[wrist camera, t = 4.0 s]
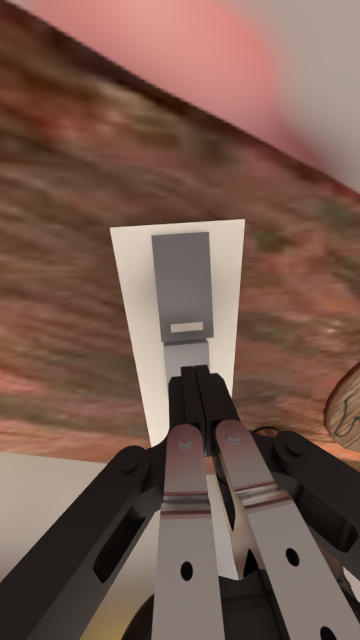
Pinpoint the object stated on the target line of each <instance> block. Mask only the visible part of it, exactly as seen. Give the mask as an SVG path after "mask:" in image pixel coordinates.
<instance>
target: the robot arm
mask: <svg viewBox="0 0 360 640" xmlns="http://www.w3.org/2000/svg"><path fill="white" fill-rule="evenodd" d="M180 369H181V376H175V377H171V379H170V381H169V383H168V395H169V431H168V434H167V436H166V437H165V438H164V440H163V441H162V442H160V443H159V444H157V445H155V446H153V447H151V448H149V449H147V450H145V449H144V448H142V447H140V446H136V445H133V446H128V447H126V448H124V449H122V450H121V451H120V452H118V453H117V454H116V456H115V457H114V458H113V459H112V460H111V461H110V462H109V463H108V464H107V466H106V467H105V468H104V469H103V470H102V471H101V472H100V473H99V474H98V476H97V477H96V478H95V479H94V480H93V481H92V482H91V483H90V484H89V486H88V487H87V488H86V489H85V490H84V491H83V492H82V493H81V494H80V495H79V497H78V498H77V499H76V500H75V501H74V502H73V503H72V504H71V505H70V506H69V507H68V509H67V510H66V511H65V512H64V513H63V514H62V515H61V516H60V517H59V518H58V520H57V521H56V522H55V523H54V524H53V525H52V526H51V527H50V528H49V530H48V531H47V532H46V533H45V534H44V535H43V536H42V537H41V538H40V539H39V541H38V542H37V543H36V544H35V545H34V546H33V547H32V548H31V549H30V550H29V552H28V553H27V554H26V555H25V556H24V557H23V558H22V559H21V560H20V562H19V563H18V564H17V565H16V566H15V567H14V568H13V569H12V570H11V571H10V573H9V574H8V575H7V576H6V577H5V578H4V579H3V580H2V581H1V583H0V640H79V639H80V637H81V636H82V634H83V632H84V631H85V629H86V627H87V625H88V624H89V622H90V620H91V618H92V617H93V615H94V614H95V612H96V610H97V609H98V607H99V605H100V603H101V602H102V600H103V599H104V597H105V595H106V594H107V592H108V590H109V588H110V587H111V585H112V584H113V582H114V580H115V579H116V577H117V575H118V573H119V572H120V570H121V569H122V567H123V565H124V563H125V562H126V560H127V558H128V557H129V555H130V553H131V552H132V550H133V548H134V547H135V545H136V543H137V542H138V540H139V538H140V537H141V535H142V533H143V532H144V530H145V528H146V527H147V525H148V523H149V522H150V520H151V518H152V516H153V515H154V513H155V512H156V511H158V510H160V509H161V512H160V526H159V540H158V554H157V567H156V582H155V593H154V594H153V595H151V596H150V597H149V598H148V599H147V600H146V602H145V603H144V604H143V605H142V606H141V607H140V609H139V610H138V611H137V613H136V614H135V616H134V617H133V619H132V620H131V622H130V624H129V625H128V627H127V629H126V630H125V633H124V635H123V636H122V639H121V640H360V603H359V602H358V601H357V600H356V599H355V598H354V597H353V596H352V595H351V594H350V593H348V592H347V591H346V590H345V589H344V588H342V587H341V586H340V585H338V583H337V581H336V579H335V577H334V576H333V574H332V572H331V570H330V568H329V566H328V564H327V563H326V561H325V559H324V557H323V555H322V553H321V551H320V550H319V548H318V546H317V544H316V542H318V543H319V544H320V545H321V546H322V547H323V548H324V549H325V550H326V551H327V552H328V553H330V554H331V555H332V556H333V557H334V558H335V559H336V560H337V561H338V562H339V563H340V564H342V565H343V566H344V567H345V568H346V569H347V570H348V571H349V572H350V573H351V574H352V575H354V576H355V577H356V578H357V579H358V580H359V581H360V472H358V471H357V470H355V469H354V468H352V467H350V466H349V465H347V464H346V463H344V462H343V461H341V460H339V459H338V458H336V457H335V456H333V455H331V454H330V453H328V452H327V451H325V450H323V449H322V448H320V447H319V446H317V445H315V444H314V443H312V442H311V441H309V440H307V439H306V438H304V437H303V436H301V435H299V434H297V433H295V432H292V431H281V432H279V433H277V434H276V436H275V438H273V437H269V436H264V435H259V434H256V433H254V432H252V431H250V430H249V429H248V428H247V427H246V426H245V425H244V424H242V422H241V421H240V419H239V416H238V414H237V411H236V409H235V406H234V404H233V401H232V399H231V396H230V394H229V391H228V388H227V386H226V383H225V381H224V379H223V378H222V377H221V376H220V375H219V374H218V373H210V372H209V368H208V365H207V364H205V365H194V366H182V367H180ZM205 452H206V457H209V456H212V459H213V464H214V477H215V481H216V485H217V488H218V492H219V496H220V499H221V503H222V507H223V511H224V515H225V518H226V522H227V526H228V529H229V533H230V539H231V546H232V552H233V557H234V562H235V566H236V570H237V574H238V578H239V580H232V579H229V578H225V577H222V576H218V570H217V561H216V552H215V542H214V533H213V524H212V515H211V507H210V501H209V498H208V490H207V480H206V470H205V460H204V457H205ZM315 541H316V542H315Z"/></svg>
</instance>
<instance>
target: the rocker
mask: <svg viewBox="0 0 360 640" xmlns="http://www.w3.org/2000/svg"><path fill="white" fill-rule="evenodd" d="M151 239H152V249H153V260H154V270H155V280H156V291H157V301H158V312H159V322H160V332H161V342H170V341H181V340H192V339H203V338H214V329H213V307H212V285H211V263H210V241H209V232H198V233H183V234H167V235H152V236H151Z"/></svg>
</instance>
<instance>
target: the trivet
mask: <svg viewBox="0 0 360 640" xmlns="http://www.w3.org/2000/svg"><path fill="white" fill-rule="evenodd" d="M324 425H325V427H326V429H327V430H328V432H329V434H330V435H331V436H332V438H333V439H334V440H335V442H337V443H338V444H339V445H341V446H342V447H344V448H345V449H348V450H352V451H355V452H360V362H359V363H358V364H356V365H355V366H354V367H353V368H352V369H351V370H350V371H349V372H348V373H347V374H346V375H345V376H344V377H343V378H342V379H341V380H340V381H339V382H338V384H337V385H336V387H335V388H334V390H333V391H332V393H331V394H330V396H329V397H328V400H327V403H326V406H325V409H324Z"/></svg>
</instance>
